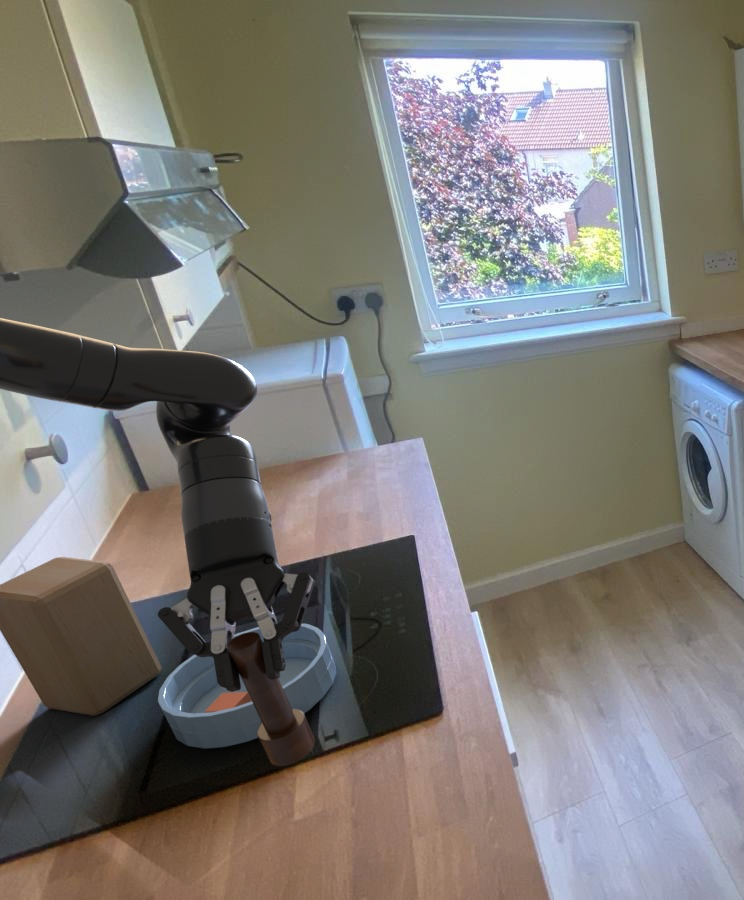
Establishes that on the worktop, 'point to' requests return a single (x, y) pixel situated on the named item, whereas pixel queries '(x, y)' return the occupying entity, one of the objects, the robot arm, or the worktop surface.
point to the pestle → (271, 704)
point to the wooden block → (76, 635)
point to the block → (229, 701)
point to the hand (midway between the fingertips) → (254, 682)
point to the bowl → (198, 689)
